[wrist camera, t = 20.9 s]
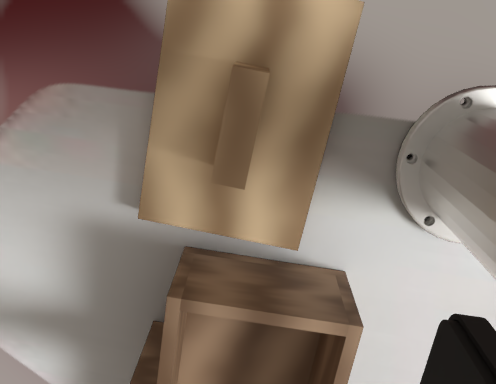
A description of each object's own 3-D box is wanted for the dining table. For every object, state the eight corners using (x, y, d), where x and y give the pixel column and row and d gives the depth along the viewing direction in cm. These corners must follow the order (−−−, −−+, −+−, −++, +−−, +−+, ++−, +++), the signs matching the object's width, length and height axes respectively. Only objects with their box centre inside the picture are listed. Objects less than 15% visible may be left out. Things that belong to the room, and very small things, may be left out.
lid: (358, 3, 34) (378, -2, 28) (295, 239, 40) (301, 275, 35) (179, -37, 34) (161, -50, 28) (144, 208, 40) (123, 239, 34)
